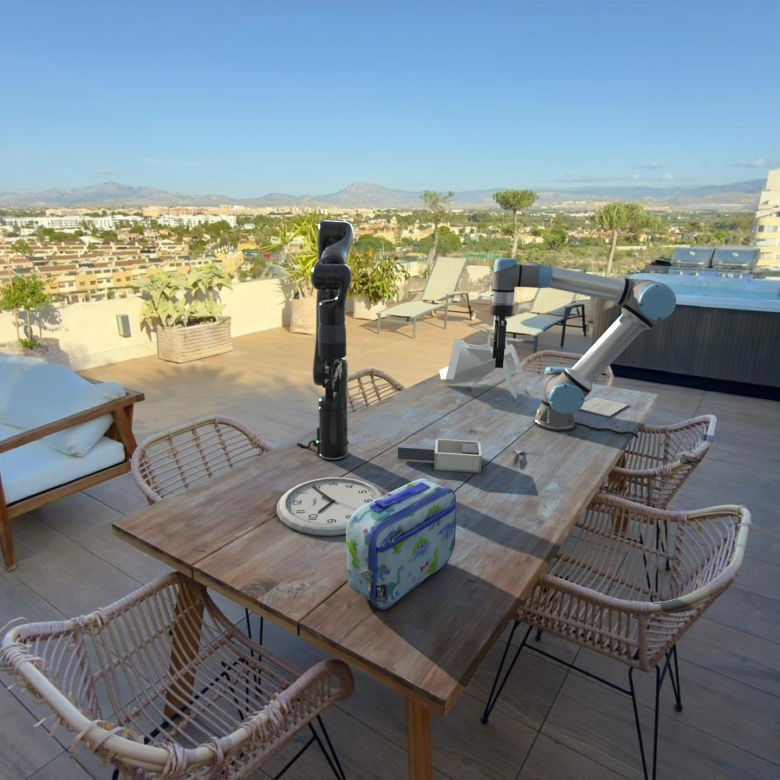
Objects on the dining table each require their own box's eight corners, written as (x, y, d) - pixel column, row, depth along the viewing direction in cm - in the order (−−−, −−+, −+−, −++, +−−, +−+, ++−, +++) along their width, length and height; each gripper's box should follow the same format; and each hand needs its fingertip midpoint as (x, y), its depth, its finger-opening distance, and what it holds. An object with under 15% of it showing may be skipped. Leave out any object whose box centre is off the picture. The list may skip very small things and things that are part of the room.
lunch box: (375, 622, 100) (376, 527, 94) (339, 595, 108) (338, 505, 101) (459, 565, 118) (465, 481, 112) (424, 545, 125) (427, 465, 119)
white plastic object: (461, 429, 252) (437, 405, 227) (444, 352, 274) (420, 323, 250) (535, 404, 240) (518, 377, 215) (510, 326, 262) (492, 293, 237)
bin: (479, 457, 174) (480, 441, 173) (480, 473, 163) (482, 456, 161) (399, 452, 177) (400, 436, 175) (396, 467, 166) (396, 450, 164)
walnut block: (477, 444, 170) (478, 452, 164) (476, 458, 172) (477, 467, 165) (462, 443, 171) (462, 451, 164) (461, 457, 172) (461, 466, 166)
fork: (510, 465, 168) (510, 460, 168) (516, 447, 182) (517, 442, 182) (518, 467, 167) (519, 461, 167) (524, 448, 182) (524, 443, 181)
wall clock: (392, 527, 129) (268, 531, 127) (391, 533, 130) (269, 537, 127) (383, 473, 158) (282, 475, 155) (383, 478, 158) (282, 480, 156)
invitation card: (608, 416, 214) (573, 407, 224) (608, 416, 214) (573, 408, 224) (628, 404, 229) (594, 396, 238) (628, 405, 229) (594, 397, 238)
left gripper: (324, 334, 148) (325, 388, 153) (312, 344, 135) (313, 403, 140) (350, 335, 148) (351, 389, 152) (340, 345, 134) (341, 405, 139)
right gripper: (489, 298, 194) (485, 354, 201) (493, 308, 171) (489, 371, 177) (509, 299, 194) (504, 355, 200) (517, 309, 170) (511, 372, 176)
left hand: (333, 396), depth 146 cm, fingers open, 8 cm apart
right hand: (497, 362), depth 189 cm, fingers open, 13 cm apart
